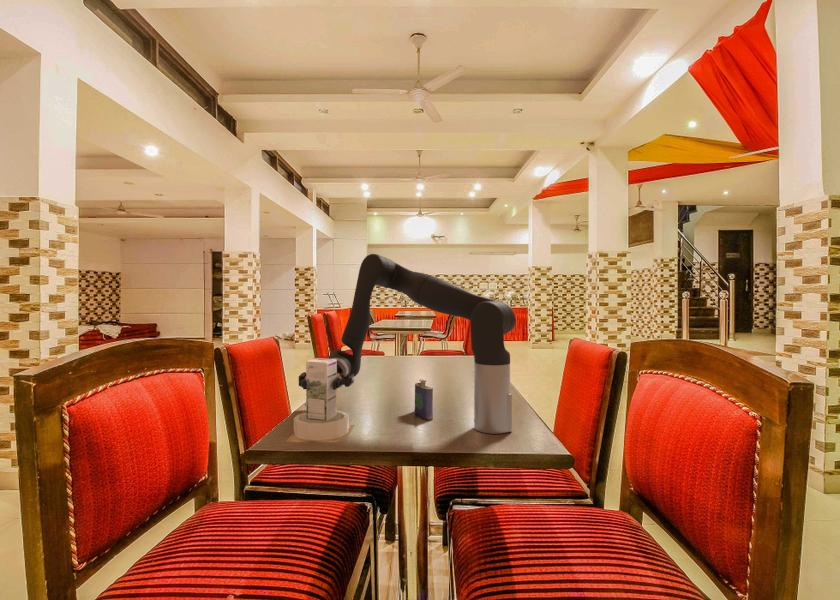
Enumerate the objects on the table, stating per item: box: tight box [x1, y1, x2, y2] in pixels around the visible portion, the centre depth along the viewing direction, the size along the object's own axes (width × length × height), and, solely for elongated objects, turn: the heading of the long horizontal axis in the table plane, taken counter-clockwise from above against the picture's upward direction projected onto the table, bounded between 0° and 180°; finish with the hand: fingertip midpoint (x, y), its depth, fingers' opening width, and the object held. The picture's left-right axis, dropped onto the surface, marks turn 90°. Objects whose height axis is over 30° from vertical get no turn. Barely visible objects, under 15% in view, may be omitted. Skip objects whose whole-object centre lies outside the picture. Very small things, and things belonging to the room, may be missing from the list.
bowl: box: [293, 410, 350, 441], centre depth 110 cm, size 13×13×4 cm
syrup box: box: [305, 357, 338, 421], centre depth 110 cm, size 6×6×14 cm
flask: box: [413, 378, 434, 421], centre depth 128 cm, size 9×3×11 cm, turn 25°
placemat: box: [284, 424, 355, 443], centre depth 110 cm, size 14×14×1 cm
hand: (319, 385), depth 108 cm, fingers closed on syrup box, 6 cm apart
